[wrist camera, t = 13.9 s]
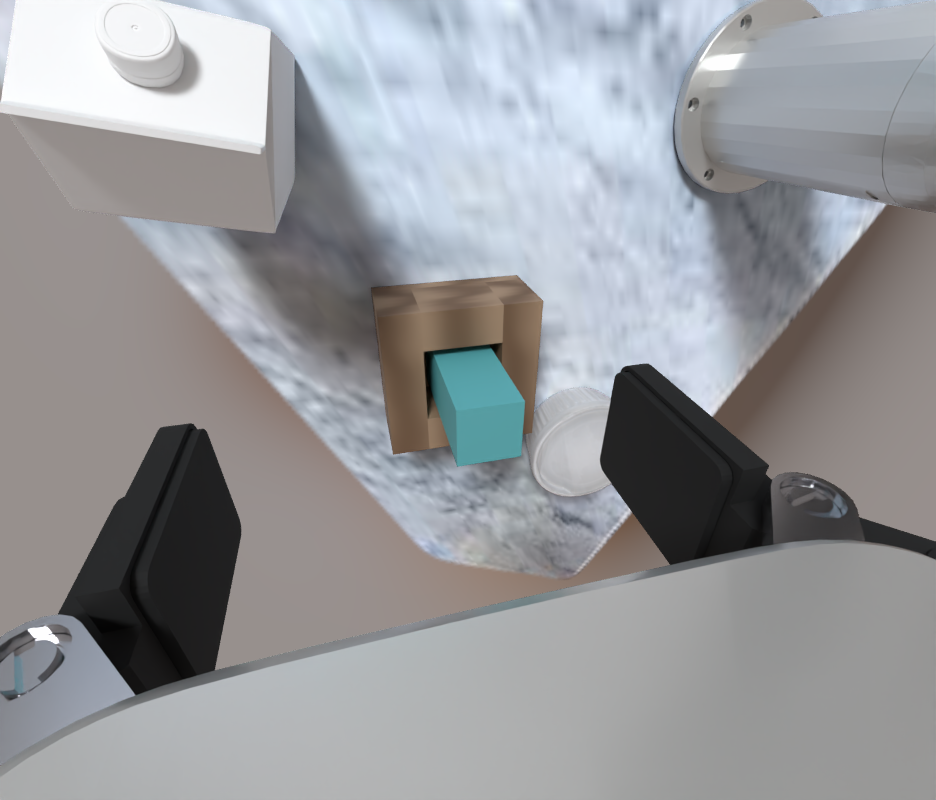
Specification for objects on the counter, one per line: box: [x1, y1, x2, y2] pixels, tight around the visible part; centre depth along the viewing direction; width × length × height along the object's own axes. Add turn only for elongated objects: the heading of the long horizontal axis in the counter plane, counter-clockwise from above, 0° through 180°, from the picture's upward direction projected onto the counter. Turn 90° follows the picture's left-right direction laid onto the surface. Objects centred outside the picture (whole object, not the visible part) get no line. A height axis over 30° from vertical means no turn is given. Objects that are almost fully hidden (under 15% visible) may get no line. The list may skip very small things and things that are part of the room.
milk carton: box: [0, 0, 295, 233], centre depth 22 cm, size 7×7×19 cm
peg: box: [426, 344, 525, 467], centre depth 36 cm, size 4×4×12 cm
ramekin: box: [526, 387, 611, 497], centre depth 48 cm, size 11×11×5 cm
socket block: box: [371, 275, 543, 454], centre depth 40 cm, size 12×12×6 cm
